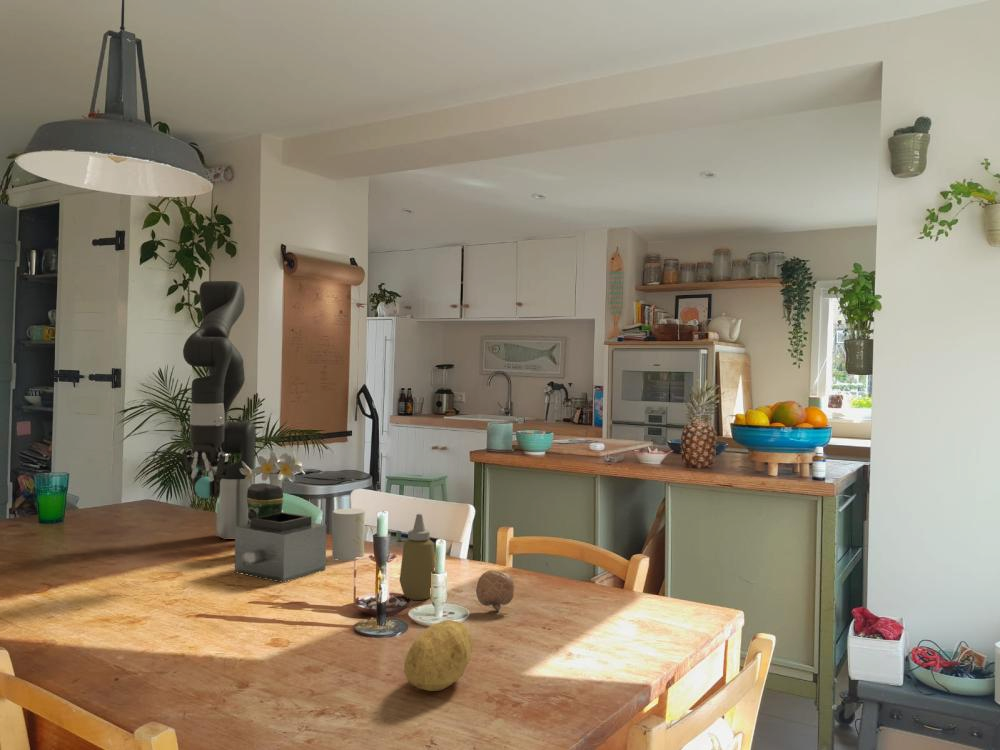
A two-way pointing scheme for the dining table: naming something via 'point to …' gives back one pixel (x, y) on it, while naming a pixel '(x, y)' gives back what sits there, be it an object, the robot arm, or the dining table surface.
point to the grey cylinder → (348, 533)
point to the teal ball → (203, 487)
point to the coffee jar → (264, 500)
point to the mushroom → (495, 589)
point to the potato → (438, 656)
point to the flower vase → (273, 468)
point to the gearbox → (280, 547)
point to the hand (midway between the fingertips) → (206, 495)
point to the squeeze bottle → (417, 562)
